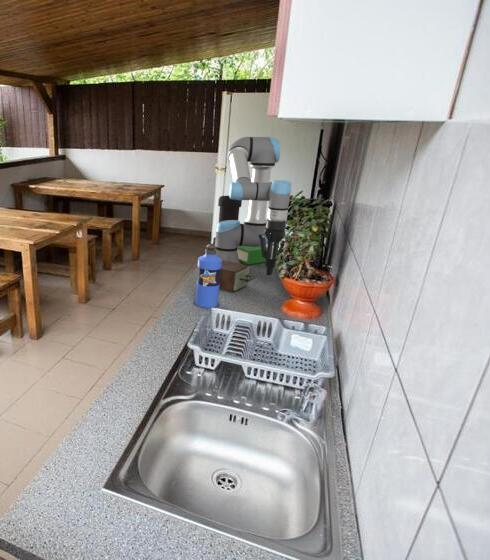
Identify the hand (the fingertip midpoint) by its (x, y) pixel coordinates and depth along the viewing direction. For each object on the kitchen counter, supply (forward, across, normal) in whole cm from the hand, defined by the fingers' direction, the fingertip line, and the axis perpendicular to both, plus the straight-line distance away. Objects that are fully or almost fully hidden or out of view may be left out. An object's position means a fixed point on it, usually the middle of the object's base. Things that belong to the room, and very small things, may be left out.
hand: (269, 274), depth 180 cm
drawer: (+9, -16, 0) cm, 18 cm away
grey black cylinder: (+11, -56, +69) cm, 90 cm away
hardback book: (+6, -34, +40) cm, 53 cm away
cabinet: (+10, -20, 0) cm, 22 cm away
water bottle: (+9, -14, -26) cm, 31 cm away
